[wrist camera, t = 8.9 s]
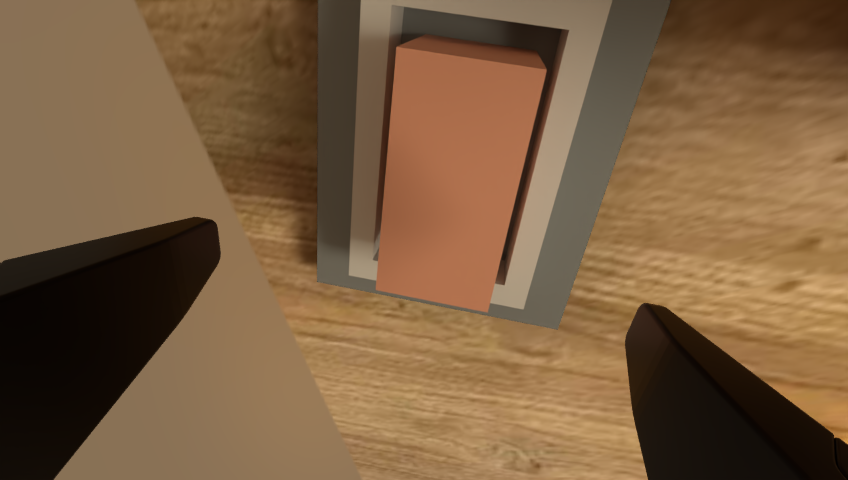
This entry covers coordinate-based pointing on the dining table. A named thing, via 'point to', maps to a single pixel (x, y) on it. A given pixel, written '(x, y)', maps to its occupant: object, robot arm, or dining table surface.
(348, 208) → the pocket board
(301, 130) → the dining table surface
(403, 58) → the block
